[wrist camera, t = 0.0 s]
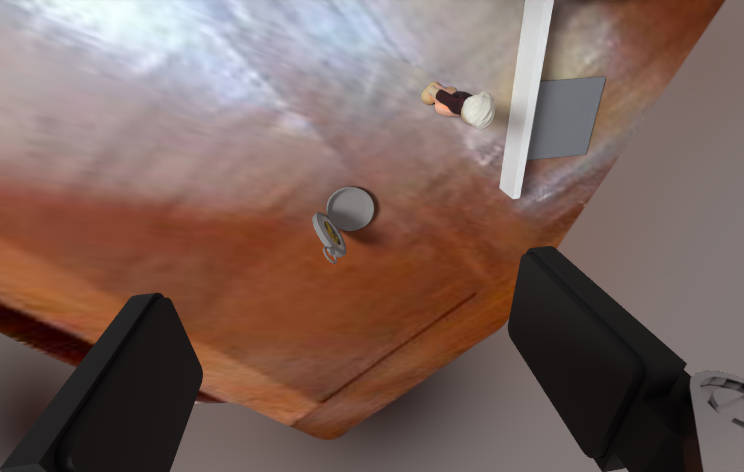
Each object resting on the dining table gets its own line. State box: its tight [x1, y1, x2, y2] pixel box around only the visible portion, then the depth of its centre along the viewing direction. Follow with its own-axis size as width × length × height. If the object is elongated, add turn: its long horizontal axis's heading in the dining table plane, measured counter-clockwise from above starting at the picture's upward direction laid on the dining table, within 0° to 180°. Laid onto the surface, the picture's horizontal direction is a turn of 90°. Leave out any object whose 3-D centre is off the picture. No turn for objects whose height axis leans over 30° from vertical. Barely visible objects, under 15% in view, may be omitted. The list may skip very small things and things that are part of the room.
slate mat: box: [526, 76, 606, 160], centre depth 45 cm, size 10×10×1 cm
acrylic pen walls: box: [500, 0, 554, 199], centre depth 42 cm, size 24×11×4 cm, turn 3°
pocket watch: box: [312, 187, 374, 264], centre depth 44 cm, size 8×8×10 cm
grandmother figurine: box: [421, 81, 495, 130], centre depth 37 cm, size 8×4×13 cm, turn 82°
